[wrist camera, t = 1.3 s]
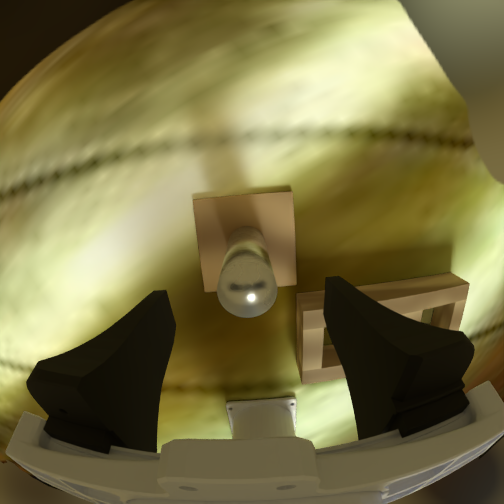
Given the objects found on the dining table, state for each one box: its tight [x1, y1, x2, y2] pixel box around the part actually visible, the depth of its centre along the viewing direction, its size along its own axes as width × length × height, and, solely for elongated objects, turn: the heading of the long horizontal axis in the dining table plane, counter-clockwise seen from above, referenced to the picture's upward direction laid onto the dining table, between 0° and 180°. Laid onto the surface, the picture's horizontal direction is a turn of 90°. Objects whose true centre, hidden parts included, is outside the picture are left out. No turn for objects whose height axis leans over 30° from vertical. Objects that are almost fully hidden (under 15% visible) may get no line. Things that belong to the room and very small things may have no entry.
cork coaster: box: [193, 191, 297, 292], centre depth 23 cm, size 8×8×1 cm
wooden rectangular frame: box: [296, 272, 470, 385], centre depth 24 cm, size 8×18×4 cm, turn 95°
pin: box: [217, 226, 277, 318], centre depth 18 cm, size 3×3×10 cm
